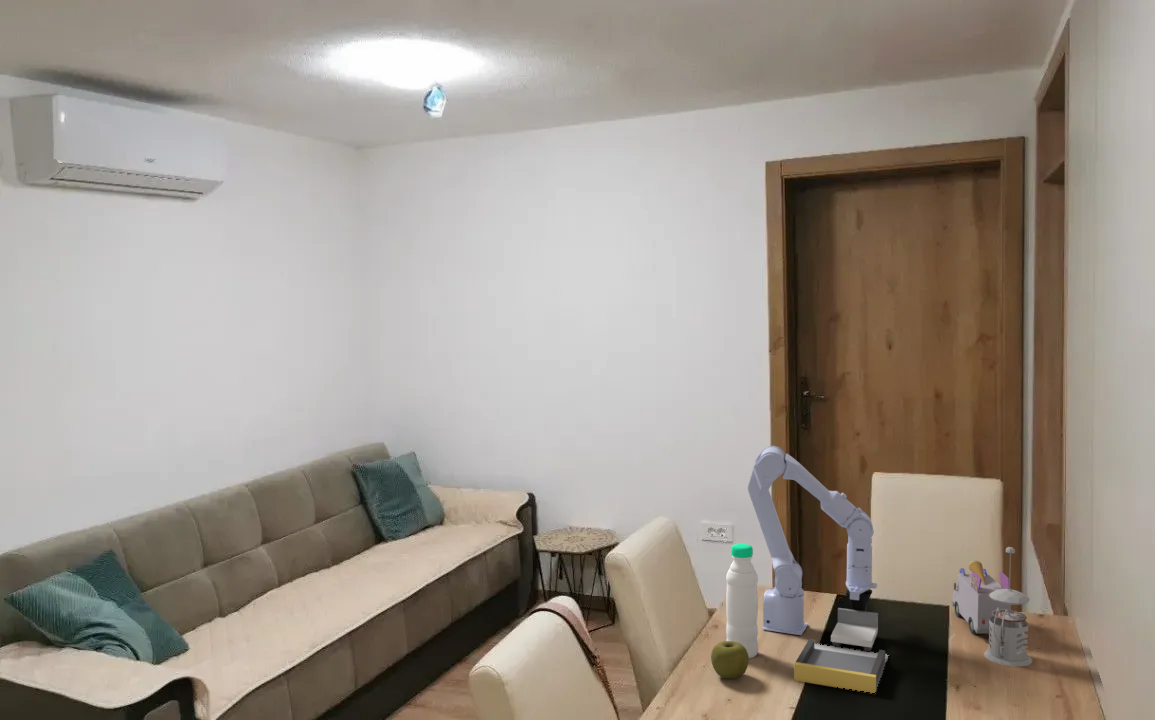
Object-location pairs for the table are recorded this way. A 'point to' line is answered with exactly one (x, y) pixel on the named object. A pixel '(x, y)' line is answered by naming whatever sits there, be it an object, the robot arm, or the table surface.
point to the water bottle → (742, 599)
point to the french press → (1008, 628)
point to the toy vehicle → (977, 597)
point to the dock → (840, 667)
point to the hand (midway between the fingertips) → (858, 620)
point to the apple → (729, 659)
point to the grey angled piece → (855, 628)
